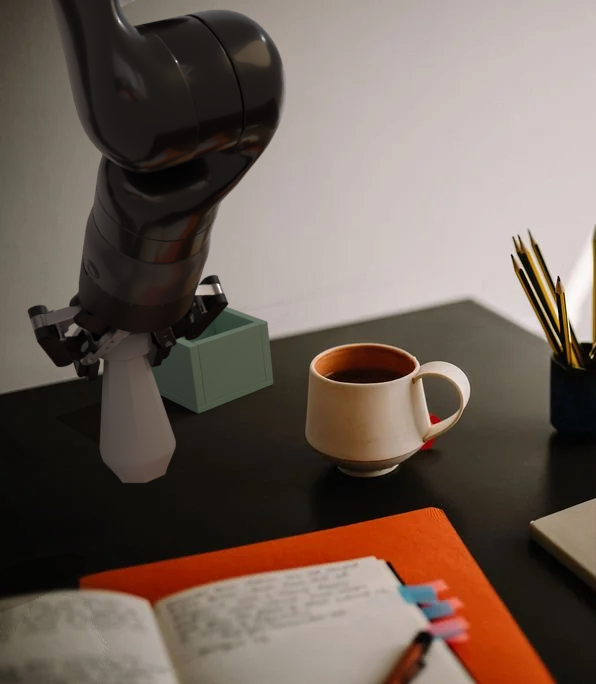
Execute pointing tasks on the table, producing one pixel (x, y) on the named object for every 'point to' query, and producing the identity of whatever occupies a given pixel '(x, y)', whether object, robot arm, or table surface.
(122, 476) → the salt shaker
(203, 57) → the robot arm
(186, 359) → the green open box
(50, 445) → the table surface
